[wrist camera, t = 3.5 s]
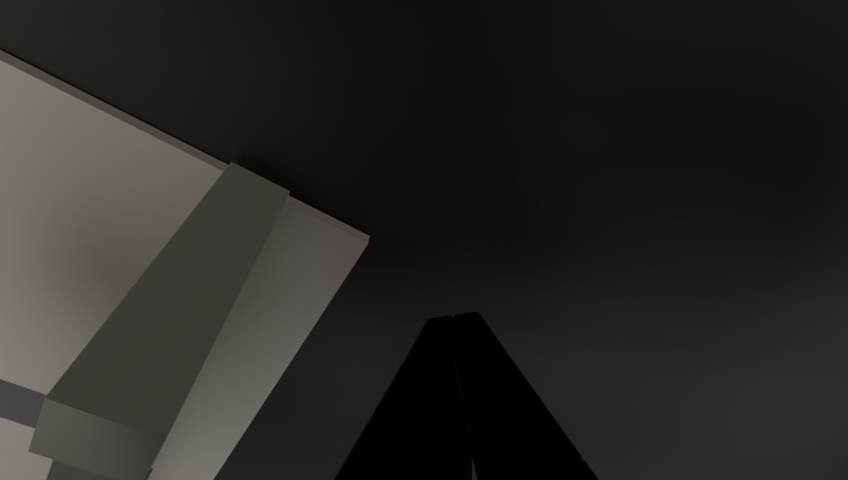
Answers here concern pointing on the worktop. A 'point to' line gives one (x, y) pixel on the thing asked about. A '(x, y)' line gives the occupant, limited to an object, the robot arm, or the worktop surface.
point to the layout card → (134, 266)
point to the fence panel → (157, 338)
